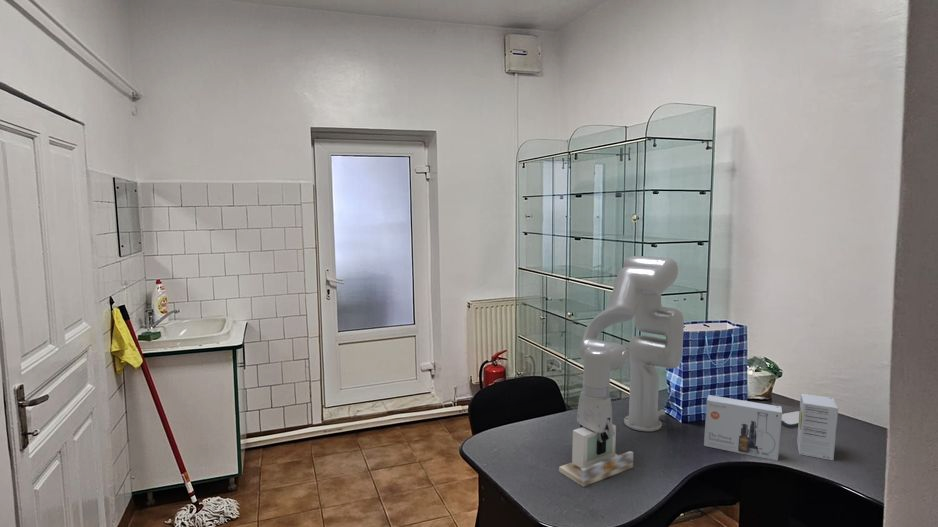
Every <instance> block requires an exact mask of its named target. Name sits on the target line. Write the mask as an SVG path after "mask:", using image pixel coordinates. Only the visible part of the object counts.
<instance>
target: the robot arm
mask: <svg viewBox="0 0 938 527" xmlns="http://www.w3.org/2000/svg"><path fill="white" fill-rule="evenodd" d="M678 274H679V265H678V263H677V262H676V261H675V260H674V259H672V258H668V257H658V256H656V257H655V256H642V255H633V256H628V257H626V258H625V259H624V262H623V267H621V268H620V269H619V271H618V273H617V275H616V278H615V282H614V285H613V289H612V292H611V295H610V297H609V302H608V304H607V307H606V308H605V309H604V310H602V311H601V312H600V313H598V314H597V315H595V317H594V318H593V319H592V320H591V321H589V322H588V324H587V325H586V328H585V330H584V333H583V335H582V339H581V342H580V345H579V357H580V359H581V361H582V362H583V367H582V368H583V371H582V372H583V373H582V377H583V378H582V382H581V385H582V391H580V395H579V398H578V403H577V415H576V417H575V418H576V421H577V423H578V424H579V428H582V427H586V428H588V429H590V430H592V431H594V432H596V433H597V434H598V440H599V441H597V454H598V455H600V454H603V453H605V452H606V441H607V440H608V439H609V438H610V437H613V436H615V432H614V430H613V428H612V424H613V405H612V400H611V396H610V387H611V386H610V385H611V384H610V383H611V382H610V381H611V380H610V379H611V371H614V370H620V369H622V368H624V367H625V366H626V365H627V363H628V361H629V364H630V365H629V367H630V371H629V372H630V373H629V374H630V375H629V377H630V378H629V396H628V397H629V399H628V400H629V404H628V408H629V409H628V415H627V416H625V417H624V418H623V423H624V424H625V426H626V427H627V428H629V429H632V430H635V431H640V432H649V433H650V432H656V431H659V430H660V429H661V428H662V427H663V425H662V423H663V422H662V421H661V420H660V419H659V418H660V417H661V416H664V415H666V411H665V409H664V408H662V409H658V408H659V389H660V386H659V385H660V378H659V377H660V376H659V373H658V371H657V368H656V367H660V368H666V369H672V370H673V369H677V368H678V367H680V365H681V363H682V360H683V352H684V351H683V349H684V348H683V347H684V346H683V345H684V329H685V326H684V324H685V322H684V316H683V314H682V312H681V311H680V309H677V308H674V307H668V306H667V307H666V306H663V305H662V294H663V293H665V292H666V291H667V290H668V289H669V288H670V287H671V286H672V285H673V284H674V283H675V282H676V280H677V277H678ZM632 319H634V326H635V327H634V328H635V329H636V330H637V331H639V332H643V333H646V334H652V335H659V336H664V337H665V338H661V337H655V336H649V335H641V334H640V335H635V336H633V337H631V339H630V340H629V342H628V348H627V347H626V346H625V345H623V344H621V343H616V342H611V341H606V340H600V339H597V338H598V336H599V335H600V333H601V332H603V331H604V330H605V329H607V328H609V327H612V326H613V325H617V324H618V325H619V324H621V323H623V322H624V323H625V322H627V321H631V320H632ZM607 431H608V433H607ZM602 433H603V435H604V436H602Z"/></svg>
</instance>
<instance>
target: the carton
mask: <svg viewBox="0 0 938 527" xmlns="http://www.w3.org/2000/svg"><path fill="white" fill-rule="evenodd" d="M612 428H613V430H614V432H615V436H613V437H610V438H609V439H608V440H607V441H606V452H605V453H603V454H600V455H598V454H597V441H599V440H598V434H597V433H596V432H594V431H592V430H590V429H588V428H586V427H582V428H581V427H579V428H576V429H573V430H572V445H571V446H572V447H571V448H572V452H571V456H572V457H571V458H572V459H571V462H572V463H573V464H575V465H576V466H578V467H580V468H585V467H588V466H590V465H593V464H596V463H598V462H601V461H604V460H607V459H609V458H612V457H615V454H616V438H617V437H616V436H617V434H616V433H617V425H616V424H614V423H612ZM607 433H608V431H607ZM602 436H604V435H603V433H602Z"/></svg>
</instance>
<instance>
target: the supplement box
mask: <svg viewBox="0 0 938 527" xmlns="http://www.w3.org/2000/svg"><path fill="white" fill-rule="evenodd" d="M799 401H800V402H799V411H800V412H799V424H798V427H797V438H796V444H797V449H798V454H799V455H801V456H807V457H813V458H818V459H822V460H823V459H824V460H828V461H834V460H835V458H834V457H835V448H836V447H835V446H836V434H837V432H836V431H837V426H838V418H839V417H838V416H839V407H838V405H837V403H836V400H835V398H834V397H829V396H822V395H815V394H807V393H801V394H800V400H799Z"/></svg>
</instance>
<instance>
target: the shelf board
mask: <svg viewBox="0 0 938 527" xmlns="http://www.w3.org/2000/svg"><path fill="white" fill-rule="evenodd" d="M633 467H634V452H633V451H631V450H629V451H627V452H624V453H623V452H622V453H620V454H617V453H615V457H612V458H609V459H607V460H604V461H601V462H598V463H596V464H593V465H590V466H588V467H585V468H580V467H578V466H576V465H575V464H573V463H572V461H571V462H569V463H566V464H563V465H560V466H559V467H558V472H559V473H560V474H562V475H564V476H565V477H567V478H569V479H570V480H572V481H573V482H575V483H576V484H578V485H580V486H581V487H587V486H589V485H592V484H594V483H596V482H600V481H602V480H605V479H607V478H609V477H613V476H615V475H617V474H620V473H623V472H625V471H627V470H631V469H632V468H633Z"/></svg>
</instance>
